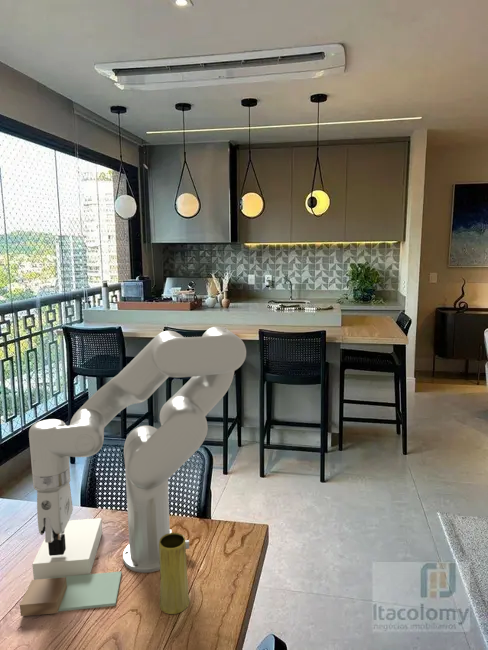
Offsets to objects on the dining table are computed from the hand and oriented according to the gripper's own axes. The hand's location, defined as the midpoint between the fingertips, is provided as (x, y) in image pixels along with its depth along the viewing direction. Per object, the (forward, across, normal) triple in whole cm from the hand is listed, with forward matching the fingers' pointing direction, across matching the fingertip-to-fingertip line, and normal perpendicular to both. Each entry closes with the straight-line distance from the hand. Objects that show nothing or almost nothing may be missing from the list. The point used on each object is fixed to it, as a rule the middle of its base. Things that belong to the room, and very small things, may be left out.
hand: (57, 552), depth 103 cm
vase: (+5, -12, -26) cm, 30 cm away
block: (+2, -9, 0) cm, 10 cm away
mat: (+5, -7, -6) cm, 11 cm away
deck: (+5, +6, -1) cm, 8 cm away
